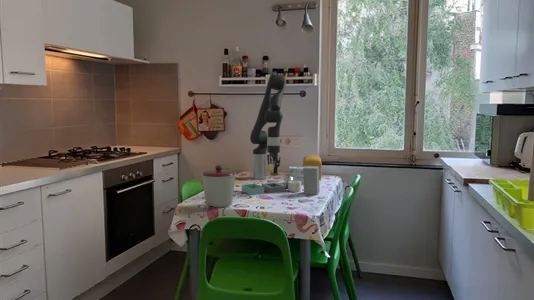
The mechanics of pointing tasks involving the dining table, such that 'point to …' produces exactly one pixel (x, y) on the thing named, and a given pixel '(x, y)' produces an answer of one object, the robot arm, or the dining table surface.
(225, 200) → the canister
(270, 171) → the brass cell
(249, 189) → the trough
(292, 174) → the light bulb box
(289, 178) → the grey cell
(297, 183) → the white cup
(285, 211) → the dining table surface
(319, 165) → the bread
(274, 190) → the block
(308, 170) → the skincare box
